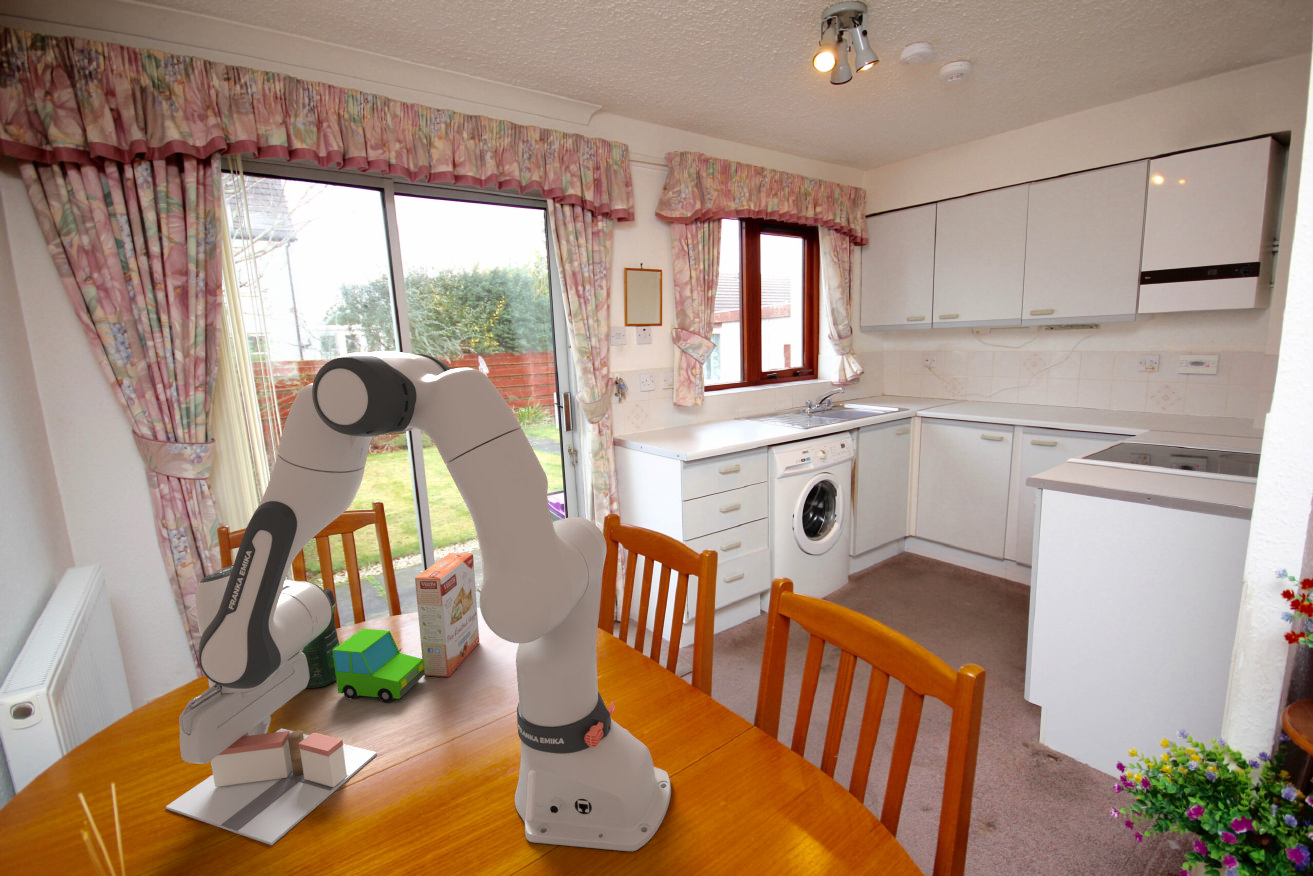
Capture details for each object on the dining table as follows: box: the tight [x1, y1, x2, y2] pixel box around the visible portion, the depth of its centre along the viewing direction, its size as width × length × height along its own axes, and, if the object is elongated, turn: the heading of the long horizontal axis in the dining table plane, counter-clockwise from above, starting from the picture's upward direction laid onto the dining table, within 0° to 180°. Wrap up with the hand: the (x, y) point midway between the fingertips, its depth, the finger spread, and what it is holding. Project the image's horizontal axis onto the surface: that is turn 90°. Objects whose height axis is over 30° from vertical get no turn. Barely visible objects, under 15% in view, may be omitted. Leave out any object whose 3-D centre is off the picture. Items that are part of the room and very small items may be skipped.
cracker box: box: [414, 552, 480, 678], centre depth 121 cm, size 14×6×21 cm, turn 172°
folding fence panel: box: [210, 730, 292, 787], centre depth 89 cm, size 10×3×6 cm, turn 99°
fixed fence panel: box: [298, 732, 347, 787], centre depth 88 cm, size 6×3×6 cm, turn 71°
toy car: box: [332, 628, 425, 704], centre depth 111 cm, size 10×13×10 cm
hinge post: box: [288, 730, 304, 776], centre depth 90 cm, size 2×2×7 cm
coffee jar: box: [302, 588, 341, 689], centre depth 115 cm, size 10×8×19 cm
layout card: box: [165, 727, 378, 846], centre depth 89 cm, size 21×18×1 cm
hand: (257, 747), depth 92 cm, fingers closed
